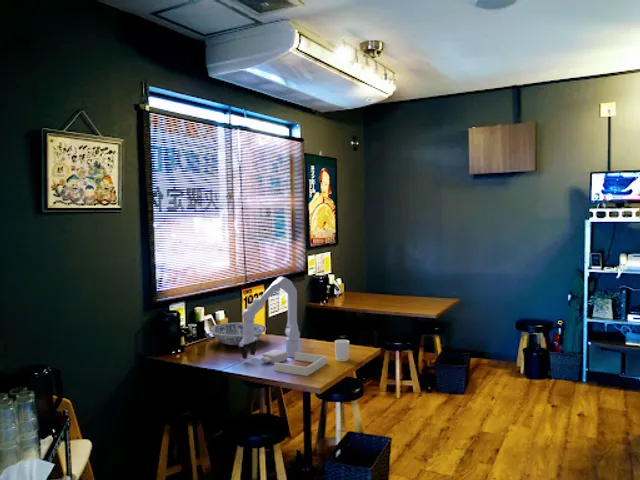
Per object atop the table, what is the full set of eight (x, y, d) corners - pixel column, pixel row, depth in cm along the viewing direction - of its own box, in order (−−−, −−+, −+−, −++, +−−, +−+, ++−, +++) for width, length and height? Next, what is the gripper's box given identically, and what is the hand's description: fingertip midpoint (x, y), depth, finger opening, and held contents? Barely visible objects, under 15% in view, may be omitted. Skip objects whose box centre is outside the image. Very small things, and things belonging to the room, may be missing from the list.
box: (295, 359, 261) (295, 352, 261) (326, 363, 254) (326, 356, 253) (274, 370, 242) (274, 363, 241) (307, 376, 234) (307, 367, 234)
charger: (254, 364, 254) (274, 357, 266) (267, 367, 248) (287, 360, 260) (254, 355, 254) (274, 349, 265) (267, 358, 248) (287, 351, 260)
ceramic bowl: (262, 351, 277) (262, 334, 276) (202, 351, 277) (202, 334, 277) (269, 337, 311) (269, 321, 311) (216, 336, 312) (216, 321, 311)
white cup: (348, 357, 265) (348, 339, 264) (349, 361, 257) (349, 343, 256) (334, 357, 264) (334, 339, 264) (335, 362, 257) (335, 343, 256)
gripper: (249, 328, 269) (250, 352, 269) (234, 333, 256) (234, 359, 256) (260, 329, 266) (260, 353, 266) (245, 335, 253) (245, 360, 253)
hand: (248, 356), depth 261 cm, fingers open, 7 cm apart
